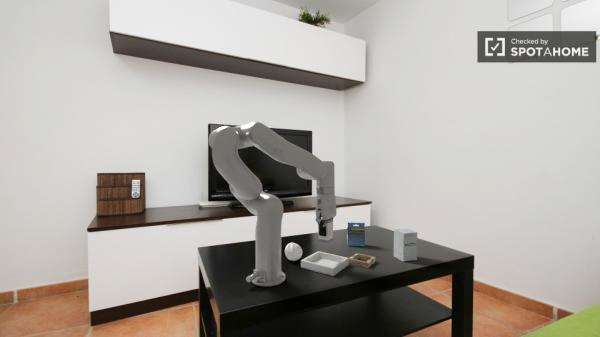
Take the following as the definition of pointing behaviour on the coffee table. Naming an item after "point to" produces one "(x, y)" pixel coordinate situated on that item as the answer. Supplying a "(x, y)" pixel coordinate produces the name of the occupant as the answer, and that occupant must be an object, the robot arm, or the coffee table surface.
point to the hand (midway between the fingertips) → (325, 233)
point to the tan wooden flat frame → (368, 258)
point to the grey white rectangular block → (327, 232)
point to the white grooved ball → (293, 251)
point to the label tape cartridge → (356, 234)
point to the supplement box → (405, 244)
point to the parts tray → (325, 263)
